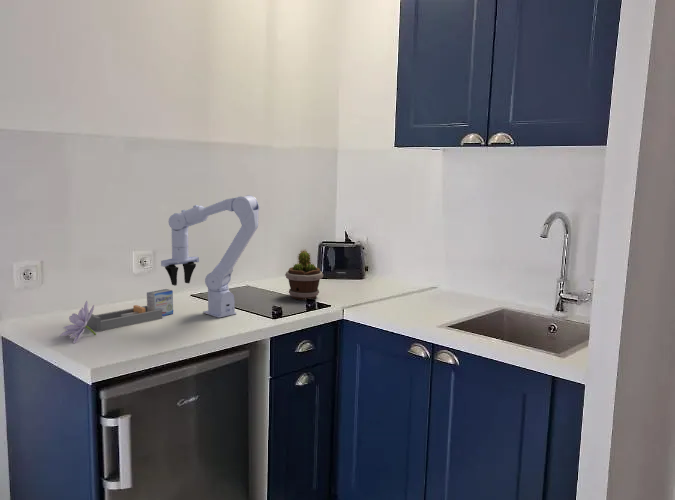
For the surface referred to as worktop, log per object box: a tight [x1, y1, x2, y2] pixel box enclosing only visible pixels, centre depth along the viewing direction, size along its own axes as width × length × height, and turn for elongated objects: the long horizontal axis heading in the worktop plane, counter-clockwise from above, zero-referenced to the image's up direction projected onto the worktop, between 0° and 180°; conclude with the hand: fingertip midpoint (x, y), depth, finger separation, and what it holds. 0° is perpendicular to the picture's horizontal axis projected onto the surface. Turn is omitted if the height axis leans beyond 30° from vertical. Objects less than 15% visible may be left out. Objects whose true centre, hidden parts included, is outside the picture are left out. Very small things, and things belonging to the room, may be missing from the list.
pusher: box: [121, 304, 146, 317], centre depth 201 cm, size 6×7×4 cm
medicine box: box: [146, 288, 174, 317], centre depth 209 cm, size 8×4×9 cm, turn 143°
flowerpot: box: [284, 249, 324, 301], centre depth 240 cm, size 14×15×20 cm
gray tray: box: [87, 305, 163, 332], centre depth 200 cm, size 9×23×4 cm, turn 138°
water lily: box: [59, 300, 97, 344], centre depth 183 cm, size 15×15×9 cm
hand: (180, 284), depth 215 cm, fingers open, 5 cm apart
